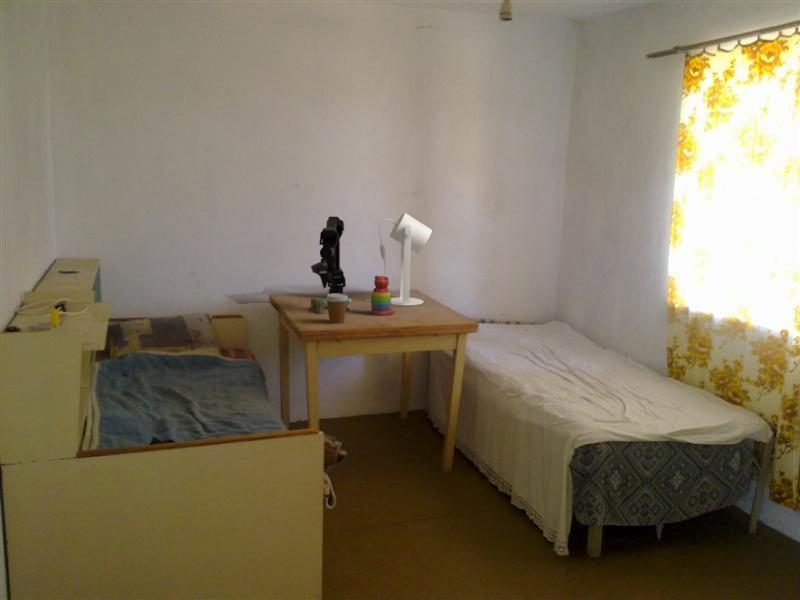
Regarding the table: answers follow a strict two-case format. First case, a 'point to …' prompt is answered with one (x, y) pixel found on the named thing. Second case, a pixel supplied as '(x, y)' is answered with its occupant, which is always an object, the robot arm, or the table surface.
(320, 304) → the cradle
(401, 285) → the desk lamp
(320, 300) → the bottle
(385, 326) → the table surface
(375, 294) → the stacking bear
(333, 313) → the disposable coffee cup
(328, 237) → the robot arm
